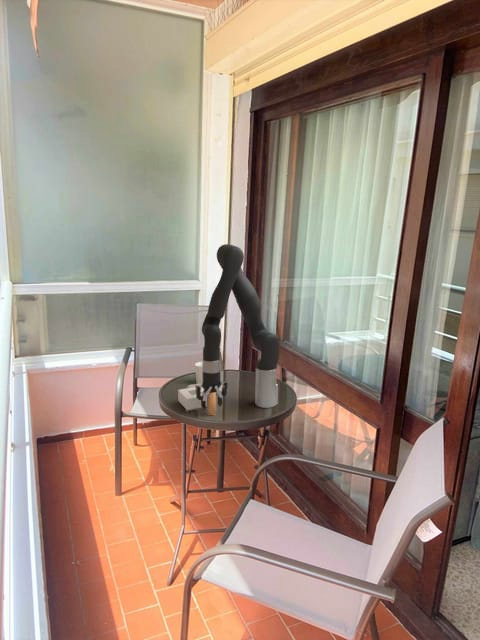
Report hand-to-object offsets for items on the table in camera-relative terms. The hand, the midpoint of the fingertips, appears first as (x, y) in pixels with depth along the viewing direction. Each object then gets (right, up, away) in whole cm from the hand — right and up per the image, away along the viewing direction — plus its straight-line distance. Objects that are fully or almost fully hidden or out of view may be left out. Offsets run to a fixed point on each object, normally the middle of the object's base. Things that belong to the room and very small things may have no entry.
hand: (211, 406), depth 206 cm
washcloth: (-4, +2, +26) cm, 27 cm away
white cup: (-6, +5, +38) cm, 39 cm away
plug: (0, -3, +1) cm, 3 cm away
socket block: (-8, -1, +10) cm, 13 cm away
